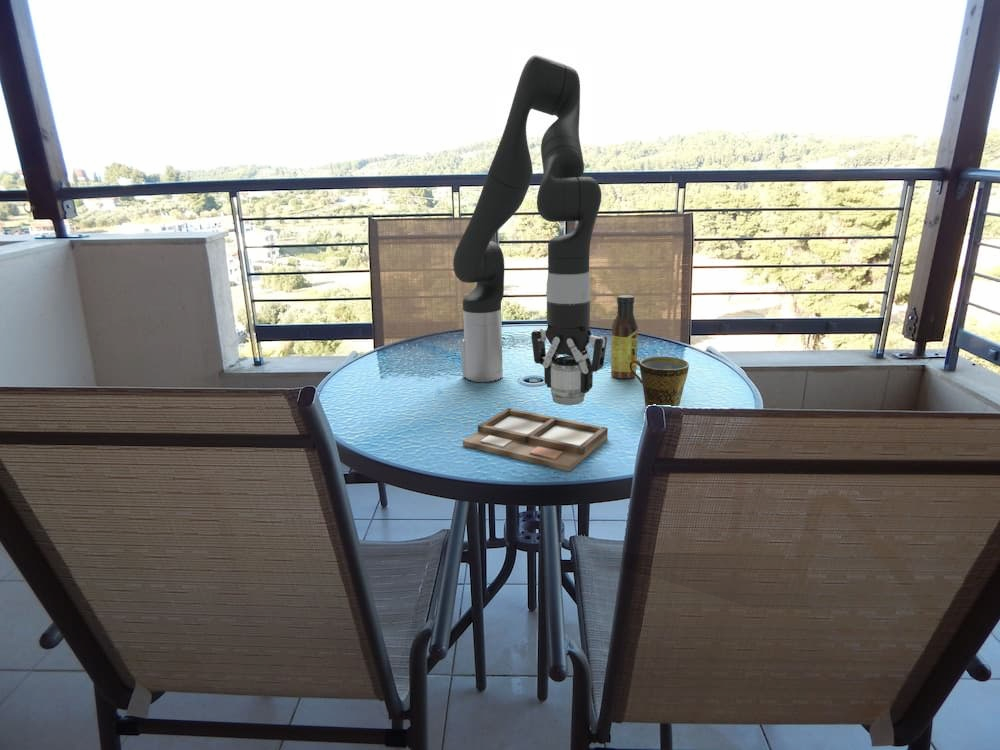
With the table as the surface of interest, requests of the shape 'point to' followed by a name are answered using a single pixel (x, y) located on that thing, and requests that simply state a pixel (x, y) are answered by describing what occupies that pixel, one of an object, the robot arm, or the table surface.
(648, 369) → the ceramic cup
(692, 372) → the table surface
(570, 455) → the board
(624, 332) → the sauce bottle
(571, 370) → the camera lens
